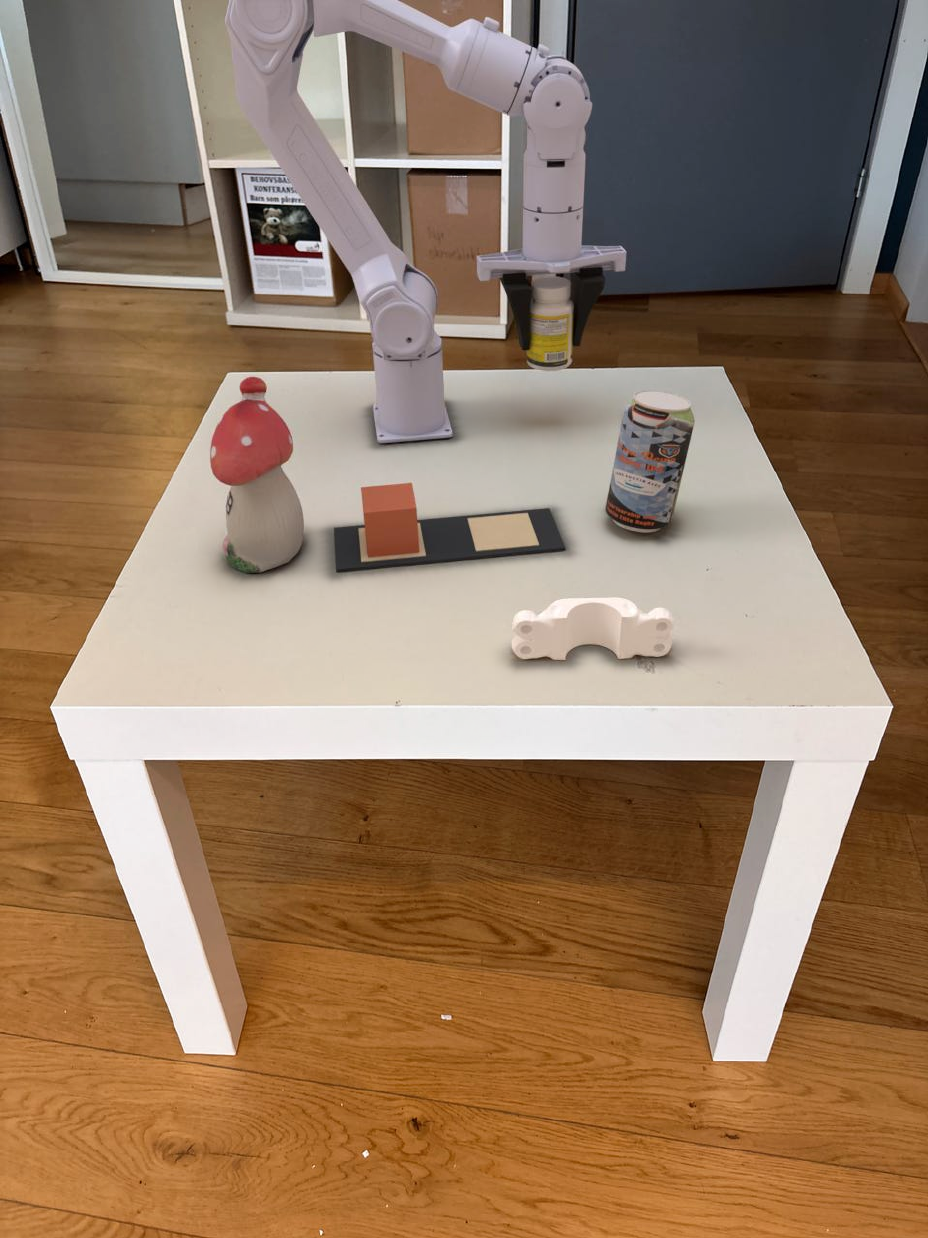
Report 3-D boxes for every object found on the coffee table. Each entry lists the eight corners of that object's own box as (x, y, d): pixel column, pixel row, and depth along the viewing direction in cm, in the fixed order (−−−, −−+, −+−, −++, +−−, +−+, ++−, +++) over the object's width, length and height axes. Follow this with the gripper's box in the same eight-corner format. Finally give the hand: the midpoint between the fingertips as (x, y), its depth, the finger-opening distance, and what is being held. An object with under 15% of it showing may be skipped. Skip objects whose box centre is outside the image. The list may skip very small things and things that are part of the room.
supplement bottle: (541, 351, 105) (543, 271, 100) (580, 360, 103) (584, 279, 98) (517, 366, 102) (518, 284, 97) (556, 375, 99) (559, 292, 94)
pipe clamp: (666, 637, 75) (671, 596, 73) (672, 657, 73) (677, 615, 71) (510, 640, 76) (510, 599, 73) (511, 660, 74) (511, 618, 71)
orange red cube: (365, 530, 88) (360, 486, 86) (414, 526, 89) (411, 482, 86) (367, 557, 85) (363, 512, 82) (419, 552, 85) (416, 507, 83)
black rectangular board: (334, 530, 90) (334, 526, 89) (549, 510, 91) (549, 506, 91) (336, 572, 84) (336, 568, 84) (565, 550, 86) (565, 546, 85)
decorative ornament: (267, 519, 91) (241, 365, 83) (327, 532, 89) (308, 376, 80) (207, 570, 85) (172, 409, 76) (271, 586, 82) (243, 422, 74)
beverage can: (591, 526, 89) (598, 402, 82) (638, 495, 93) (648, 375, 86) (649, 550, 85) (662, 423, 78) (695, 517, 90) (711, 394, 82)
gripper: (484, 221, 89) (486, 364, 97) (639, 211, 90) (628, 353, 98) (472, 202, 95) (475, 339, 103) (618, 193, 96) (609, 329, 104)
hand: (549, 344), depth 101 cm, fingers closed on supplement bottle, 5 cm apart
